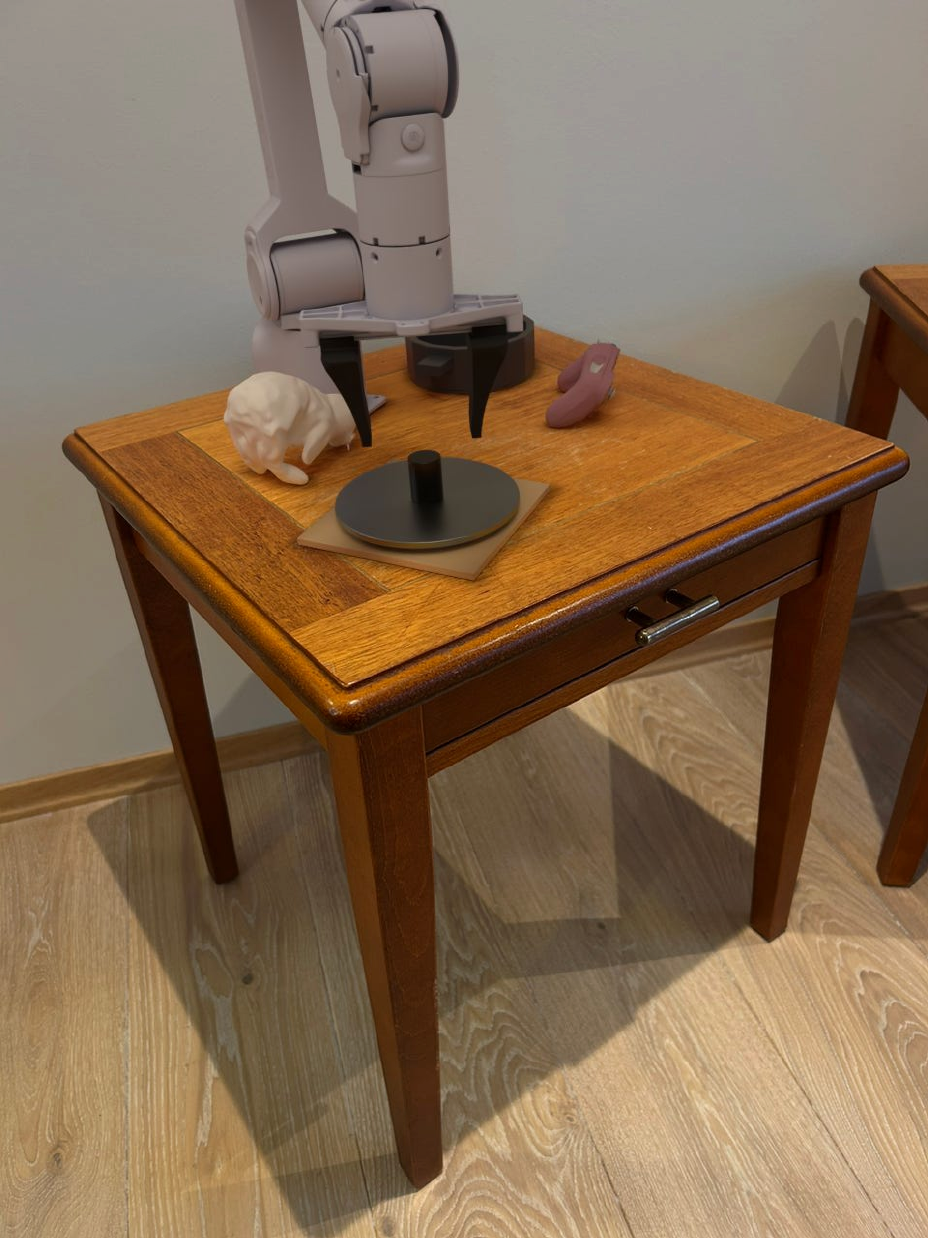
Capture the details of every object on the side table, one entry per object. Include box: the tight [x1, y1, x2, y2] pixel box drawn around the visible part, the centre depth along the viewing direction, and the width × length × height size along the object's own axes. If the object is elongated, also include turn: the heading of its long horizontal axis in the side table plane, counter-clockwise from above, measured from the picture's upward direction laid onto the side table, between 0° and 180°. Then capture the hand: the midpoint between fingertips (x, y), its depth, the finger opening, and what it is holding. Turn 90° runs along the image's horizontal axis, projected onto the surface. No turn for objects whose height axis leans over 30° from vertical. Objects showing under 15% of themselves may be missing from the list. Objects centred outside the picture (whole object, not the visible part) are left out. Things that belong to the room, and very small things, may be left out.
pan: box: [404, 313, 536, 395], centre depth 96 cm, size 13×18×4 cm
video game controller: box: [544, 338, 621, 429], centre depth 86 cm, size 10×5×7 cm, turn 168°
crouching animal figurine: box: [222, 372, 357, 486], centre depth 79 cm, size 6×8×12 cm
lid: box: [334, 449, 520, 549], centre depth 70 cm, size 14×14×4 cm
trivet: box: [296, 458, 551, 582], centre depth 72 cm, size 14×14×1 cm
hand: (421, 437), depth 68 cm, fingers open, 7 cm apart
